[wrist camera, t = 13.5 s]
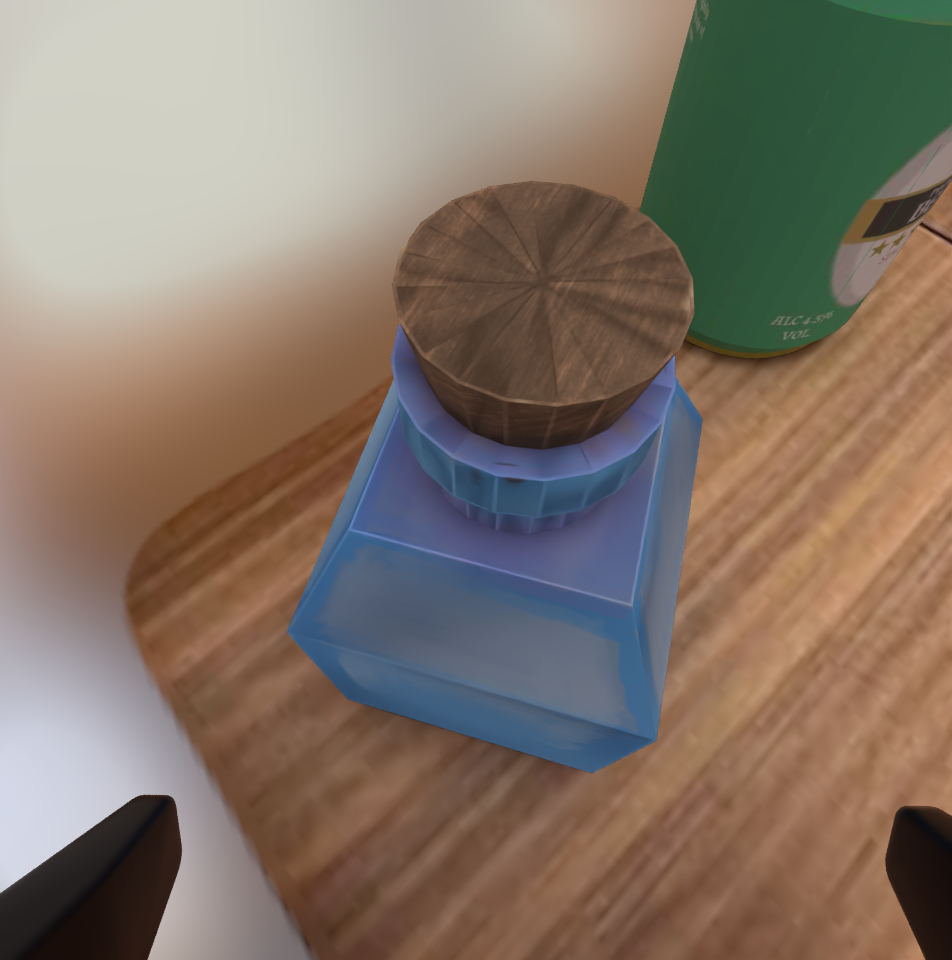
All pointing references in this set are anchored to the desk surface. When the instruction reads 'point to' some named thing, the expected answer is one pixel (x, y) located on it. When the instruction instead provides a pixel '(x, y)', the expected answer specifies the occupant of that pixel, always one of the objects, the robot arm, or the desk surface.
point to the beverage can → (800, 160)
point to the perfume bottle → (520, 482)
